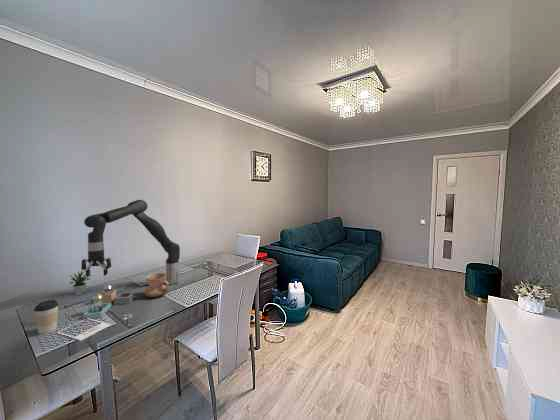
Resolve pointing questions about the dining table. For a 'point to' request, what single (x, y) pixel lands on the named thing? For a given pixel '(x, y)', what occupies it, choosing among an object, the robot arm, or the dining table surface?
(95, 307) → the cell green
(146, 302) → the dining table surface
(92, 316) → the trough
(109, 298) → the cup
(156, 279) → the ceramic jug
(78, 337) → the photo frame
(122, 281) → the dining table surface
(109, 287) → the cell grey
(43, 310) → the coffee cup
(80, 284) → the house plant
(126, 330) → the dining table surface
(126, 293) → the checker cradle
